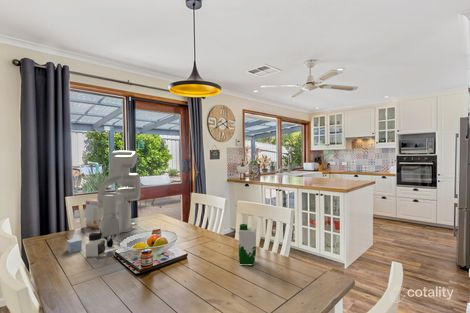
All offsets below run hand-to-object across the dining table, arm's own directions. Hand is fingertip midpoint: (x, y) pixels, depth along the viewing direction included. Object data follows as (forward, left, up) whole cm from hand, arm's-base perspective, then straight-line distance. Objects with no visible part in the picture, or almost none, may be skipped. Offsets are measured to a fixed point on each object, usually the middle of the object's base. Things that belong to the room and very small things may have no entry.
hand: (109, 246), depth 147 cm
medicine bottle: (+8, 0, -2) cm, 8 cm away
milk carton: (-45, +68, -3) cm, 81 cm away
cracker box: (-10, -58, -3) cm, 59 cm away
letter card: (0, 0, -2) cm, 2 cm away
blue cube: (+14, -16, -3) cm, 22 cm away
